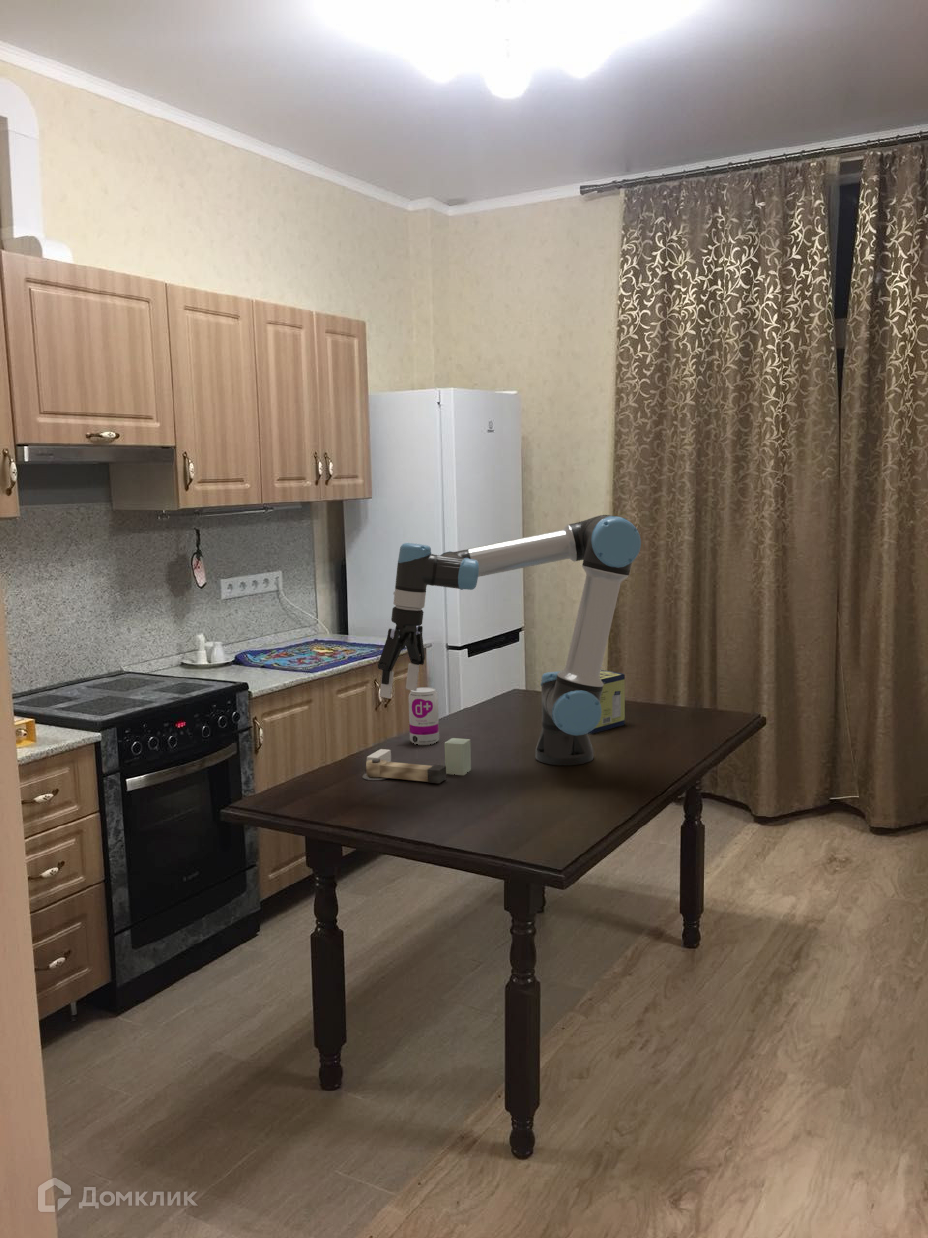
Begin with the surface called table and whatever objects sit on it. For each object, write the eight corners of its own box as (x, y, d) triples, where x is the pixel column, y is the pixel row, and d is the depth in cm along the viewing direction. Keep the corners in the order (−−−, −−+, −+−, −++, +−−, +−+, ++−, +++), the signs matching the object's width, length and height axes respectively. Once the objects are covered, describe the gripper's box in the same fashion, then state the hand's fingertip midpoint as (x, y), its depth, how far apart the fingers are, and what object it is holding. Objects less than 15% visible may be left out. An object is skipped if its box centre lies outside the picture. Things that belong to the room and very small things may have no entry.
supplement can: (435, 746, 289) (434, 693, 286) (406, 745, 290) (405, 692, 288) (442, 738, 296) (440, 687, 294) (413, 738, 298) (412, 686, 296)
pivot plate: (395, 773, 263) (395, 772, 263) (383, 781, 257) (383, 780, 257) (370, 771, 266) (370, 770, 266) (357, 779, 260) (357, 778, 260)
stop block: (391, 761, 274) (390, 750, 274) (377, 770, 267) (377, 758, 266) (380, 760, 275) (380, 749, 275) (367, 769, 268) (366, 757, 268)
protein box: (563, 728, 305) (563, 676, 303) (598, 719, 316) (598, 668, 313) (591, 734, 298) (590, 681, 295) (625, 724, 308) (625, 673, 306)
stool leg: (363, 776, 260) (362, 761, 259) (372, 770, 265) (371, 756, 264) (438, 783, 252) (438, 768, 252) (446, 778, 257) (446, 763, 256)
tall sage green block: (471, 770, 265) (470, 739, 264) (463, 775, 261) (462, 744, 260) (452, 768, 267) (452, 737, 266) (445, 773, 263) (444, 742, 261)
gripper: (417, 602, 264) (408, 684, 267) (369, 608, 242) (359, 697, 245) (444, 607, 262) (434, 689, 264) (398, 613, 239) (387, 703, 242)
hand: (398, 693), depth 254 cm, fingers open, 13 cm apart
